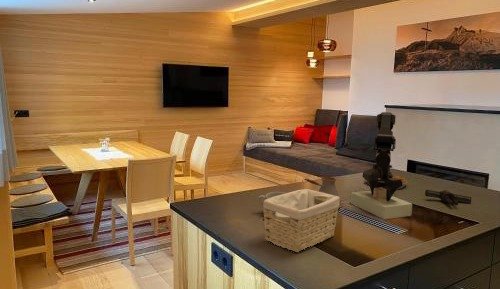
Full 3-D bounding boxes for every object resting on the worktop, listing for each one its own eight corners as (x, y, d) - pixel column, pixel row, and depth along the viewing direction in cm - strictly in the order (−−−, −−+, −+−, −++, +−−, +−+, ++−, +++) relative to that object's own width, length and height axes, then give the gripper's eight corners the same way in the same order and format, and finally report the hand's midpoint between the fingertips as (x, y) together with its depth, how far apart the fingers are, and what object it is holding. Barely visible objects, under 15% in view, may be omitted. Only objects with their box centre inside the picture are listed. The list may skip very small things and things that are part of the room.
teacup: (293, 211, 153) (294, 193, 152) (287, 220, 143) (288, 200, 142) (262, 207, 158) (262, 189, 157) (254, 215, 148) (254, 196, 146)
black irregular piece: (481, 202, 157) (469, 192, 171) (433, 194, 161) (425, 185, 175) (479, 213, 158) (466, 203, 172) (431, 205, 162) (422, 196, 176)
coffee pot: (325, 201, 168) (327, 169, 166) (346, 208, 159) (348, 174, 157) (292, 210, 155) (293, 175, 153) (312, 218, 146) (314, 181, 144)
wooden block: (372, 205, 159) (373, 188, 158) (380, 205, 161) (381, 187, 160) (378, 208, 156) (380, 190, 155) (386, 207, 157) (387, 189, 156)
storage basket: (302, 224, 139) (304, 186, 137) (340, 236, 128) (342, 196, 126) (259, 241, 123) (260, 199, 120) (298, 258, 111) (300, 211, 109)
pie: (410, 183, 204) (410, 175, 203) (403, 192, 185) (403, 183, 185) (370, 178, 215) (370, 170, 214) (359, 186, 197) (360, 177, 196)
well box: (350, 203, 166) (351, 192, 165) (375, 200, 171) (376, 190, 170) (384, 219, 146) (385, 207, 145) (411, 215, 151) (412, 203, 150)
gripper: (353, 159, 161) (351, 193, 163) (382, 168, 144) (380, 206, 146) (374, 158, 165) (371, 191, 167) (404, 166, 148) (401, 203, 150)
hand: (380, 197), depth 158 cm, fingers open, 9 cm apart
